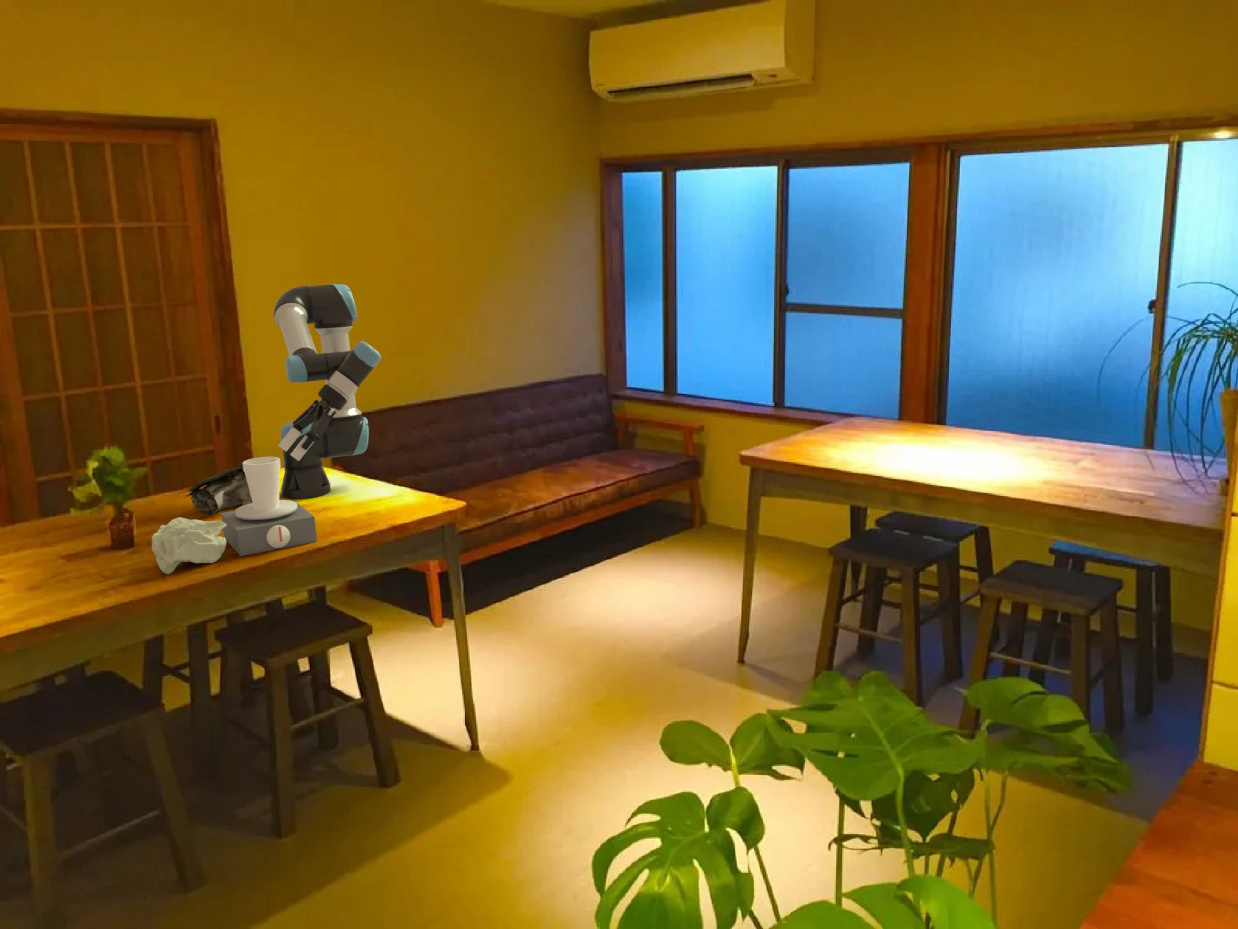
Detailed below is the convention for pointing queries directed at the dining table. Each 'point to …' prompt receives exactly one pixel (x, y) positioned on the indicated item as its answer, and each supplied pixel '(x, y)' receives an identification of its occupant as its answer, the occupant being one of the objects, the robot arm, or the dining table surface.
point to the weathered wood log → (221, 491)
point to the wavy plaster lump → (188, 543)
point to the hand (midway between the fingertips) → (287, 453)
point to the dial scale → (268, 527)
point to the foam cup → (263, 481)
